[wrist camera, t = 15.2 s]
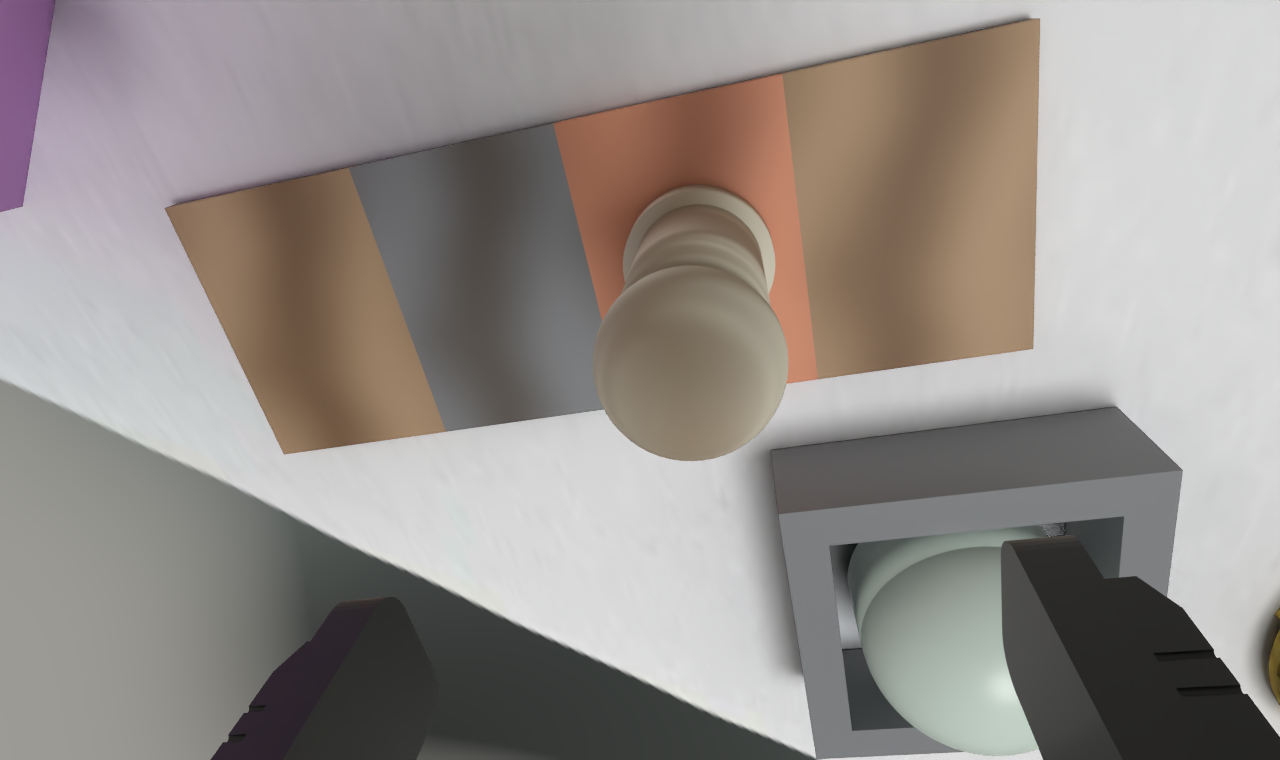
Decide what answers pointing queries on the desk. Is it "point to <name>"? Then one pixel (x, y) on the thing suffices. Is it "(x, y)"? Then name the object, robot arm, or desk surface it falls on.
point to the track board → (600, 226)
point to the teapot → (20, 89)
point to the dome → (942, 636)
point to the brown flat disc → (1275, 665)
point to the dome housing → (957, 530)
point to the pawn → (693, 328)
